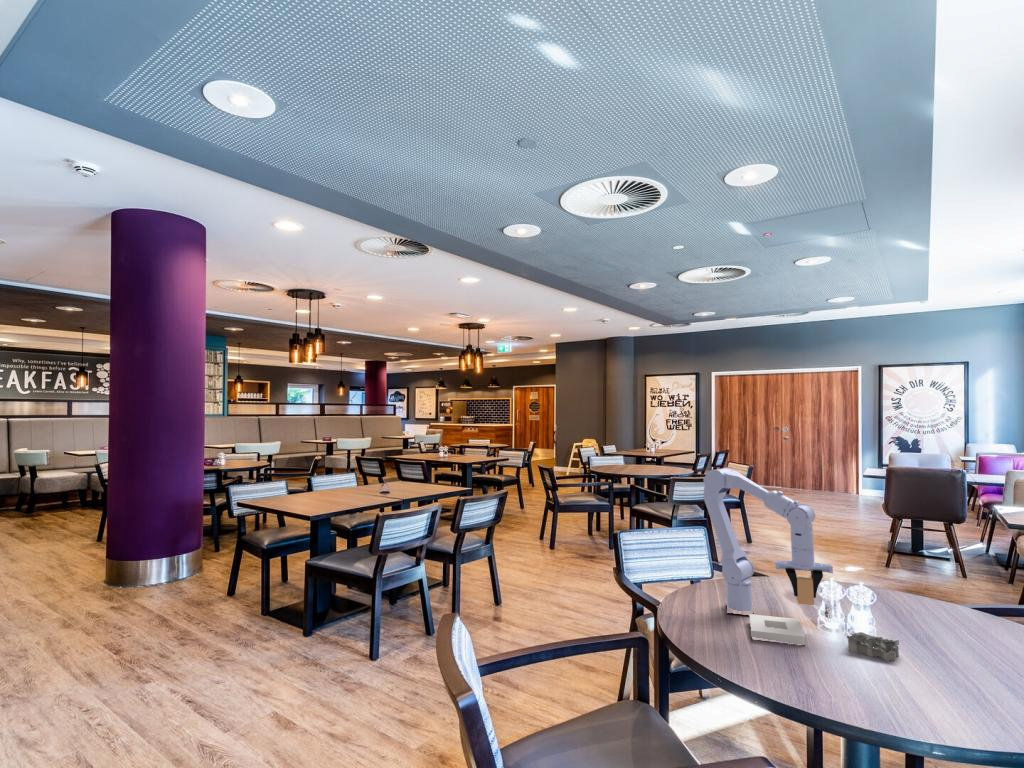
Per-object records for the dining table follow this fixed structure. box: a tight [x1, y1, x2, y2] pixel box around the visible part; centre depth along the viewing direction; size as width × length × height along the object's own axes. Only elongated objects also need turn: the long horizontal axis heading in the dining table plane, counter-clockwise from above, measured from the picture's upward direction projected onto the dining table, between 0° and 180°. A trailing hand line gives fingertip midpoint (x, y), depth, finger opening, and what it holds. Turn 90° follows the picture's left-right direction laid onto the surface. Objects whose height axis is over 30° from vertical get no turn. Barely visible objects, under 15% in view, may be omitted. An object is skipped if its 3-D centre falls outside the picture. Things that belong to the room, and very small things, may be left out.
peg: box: [795, 574, 815, 606], centre depth 157 cm, size 4×4×7 cm
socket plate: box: [748, 613, 806, 646], centre depth 153 cm, size 13×13×2 cm
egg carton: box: [846, 632, 900, 661], centre depth 140 cm, size 11×8×4 cm
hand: (804, 596), depth 157 cm, fingers closed on peg, 4 cm apart
